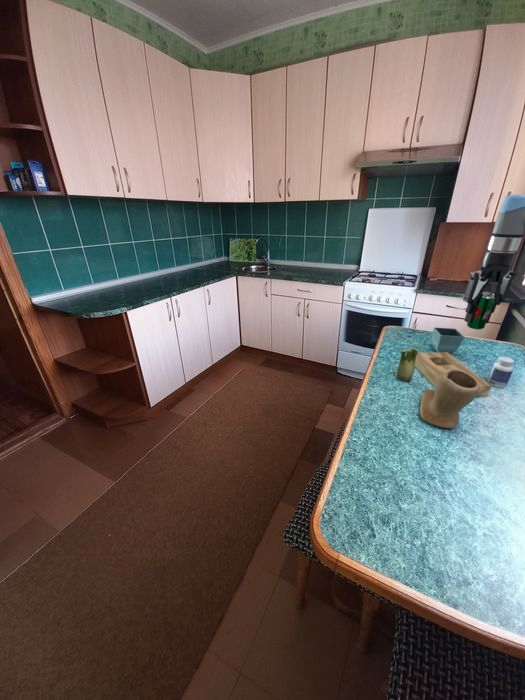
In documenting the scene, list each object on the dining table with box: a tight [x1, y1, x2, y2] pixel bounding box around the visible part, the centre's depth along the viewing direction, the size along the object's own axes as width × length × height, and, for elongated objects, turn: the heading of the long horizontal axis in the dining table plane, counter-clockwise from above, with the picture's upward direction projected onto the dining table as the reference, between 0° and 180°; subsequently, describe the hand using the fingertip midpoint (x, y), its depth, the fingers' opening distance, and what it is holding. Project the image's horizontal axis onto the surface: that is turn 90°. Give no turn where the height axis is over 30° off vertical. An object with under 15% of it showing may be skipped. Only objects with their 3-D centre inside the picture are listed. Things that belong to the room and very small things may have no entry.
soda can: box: [466, 291, 495, 331], centre depth 97 cm, size 5×5×12 cm
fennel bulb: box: [396, 347, 419, 382], centre depth 101 cm, size 6×5×12 cm
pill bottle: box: [486, 356, 515, 389], centre depth 98 cm, size 5×5×10 cm
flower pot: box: [431, 327, 465, 355], centre depth 120 cm, size 9×9×9 cm
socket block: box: [415, 351, 492, 398], centre depth 103 cm, size 14×24×4 cm, turn 2°
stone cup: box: [419, 369, 480, 429], centre depth 83 cm, size 15×12×15 cm
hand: (476, 321), depth 100 cm, fingers closed on soda can, 5 cm apart
